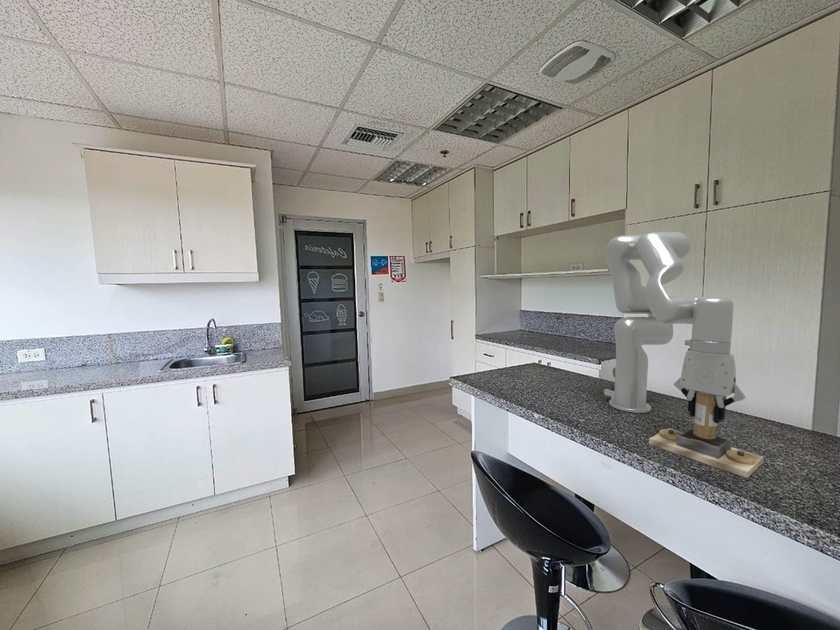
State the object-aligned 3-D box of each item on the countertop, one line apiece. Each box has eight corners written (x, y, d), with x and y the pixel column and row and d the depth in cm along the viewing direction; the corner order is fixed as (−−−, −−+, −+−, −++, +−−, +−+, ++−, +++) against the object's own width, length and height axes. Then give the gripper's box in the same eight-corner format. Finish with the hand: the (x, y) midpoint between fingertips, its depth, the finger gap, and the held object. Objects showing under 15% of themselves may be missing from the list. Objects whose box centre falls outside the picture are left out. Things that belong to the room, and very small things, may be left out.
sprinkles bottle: (719, 441, 85) (723, 387, 84) (696, 438, 87) (700, 386, 86) (711, 433, 90) (715, 383, 88) (690, 431, 91) (693, 381, 90)
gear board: (648, 443, 94) (649, 429, 94) (668, 433, 100) (669, 419, 100) (747, 478, 77) (748, 461, 77) (763, 462, 84) (764, 446, 83)
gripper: (665, 344, 91) (661, 411, 93) (751, 354, 77) (744, 433, 79) (677, 341, 95) (673, 406, 97) (761, 350, 81) (755, 426, 83)
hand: (705, 417), depth 88 cm, fingers closed on sprinkles bottle, 4 cm apart
